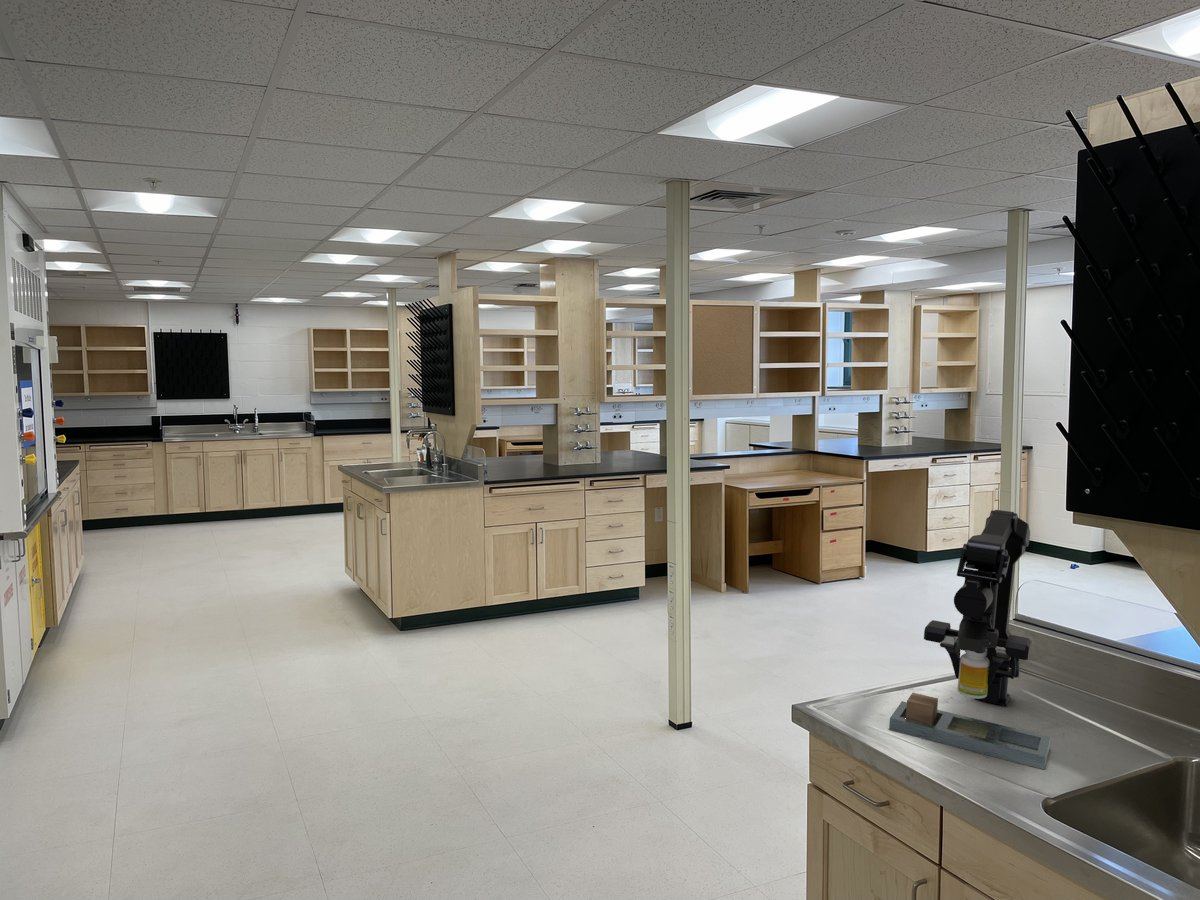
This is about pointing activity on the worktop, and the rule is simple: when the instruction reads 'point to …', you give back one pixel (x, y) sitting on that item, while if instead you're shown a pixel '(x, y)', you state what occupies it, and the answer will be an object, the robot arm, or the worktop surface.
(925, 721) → the walnut block
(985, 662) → the supplement bottle
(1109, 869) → the worktop surface
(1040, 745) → the rail
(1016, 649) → the robot arm
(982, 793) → the worktop surface
